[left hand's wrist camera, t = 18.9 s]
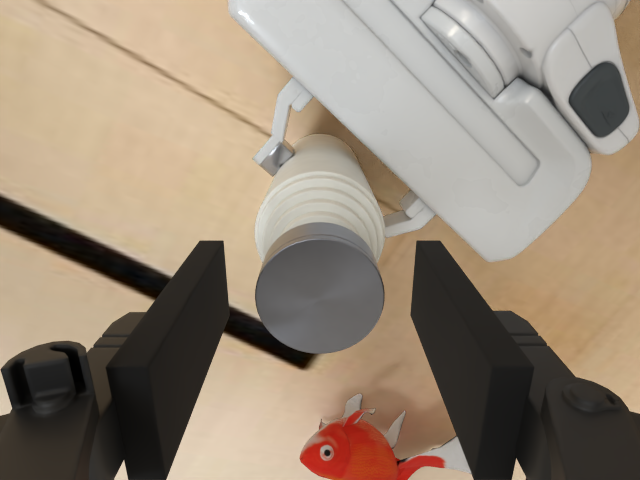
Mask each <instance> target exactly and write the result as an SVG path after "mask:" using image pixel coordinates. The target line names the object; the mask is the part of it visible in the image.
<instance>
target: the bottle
mask: <svg viewBox="0 0 640 480" xmlns="http://www.w3.org/2000/svg"><path fill="white" fill-rule="evenodd" d="M292 147H293V148H294V149H295V151H294V154H293V155H292V156H291V157H290V158H289V160H288V161H286V162H285V163H284V164H282V165H281V167H280V169H279V170H278V172H277V173H276V175H275V177H274V179H273V181H272V183H271V185H270V188H269V190H268V192H267V194H266V196H265V198H264V200H263V202H262V205H261V207H260V209H259V212H258V214H257V218H256V222H255V242H256V247H257V250H258V253H259V256H260V259H261V261H262V263H263V261H264V258H265V256H266V254H267V252H268V250H269V248H270V247H271V246H272V244H273V243H274V242H275V241H276V240H277V239H278V238H279V237H280V236H281V235H282V234H284V233H285V232H287V231H288V230H290V229H292V228H294V227H297V226H299V225H303V224H307V223H313V222H326V223H333V224H337V225H340V226H343V227H345V228H347V229H349V230H351V231H353V232H354V233H356V234H357V235H359V236H360V237H361V238H362V239H363V240H364V241H365V242H366V243H367V245H368V246H369V247H370V249H371V250H372V252H373V254H374V257H375V259H376V262H377V263H378V261H379V258H380V255H381V253H382V250H383V246H384V241H385V223H384V219H383V215H382V212H381V210H380V207H379V205H378V203H377V201H376V199H375V196H374V194H373V192H372V190H371V188H370V186H369V184H368V181H367V179H366V177H365V175H364V173H363V171H362V169H361V166H360V164H359V162H358V160H357V158H356V156H355V154H354V152H353V151H352V149H351V148H350V147H349V146H348V145H347V144H346V143H345V142H344V141H342V140H340V139H339V138H337V137H334V136H331V135H328V134H312V135H308V136H306V137H303V138H301V139H299V140H298V141H296V142H295V143H294V144H293V145H292Z"/></svg>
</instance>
